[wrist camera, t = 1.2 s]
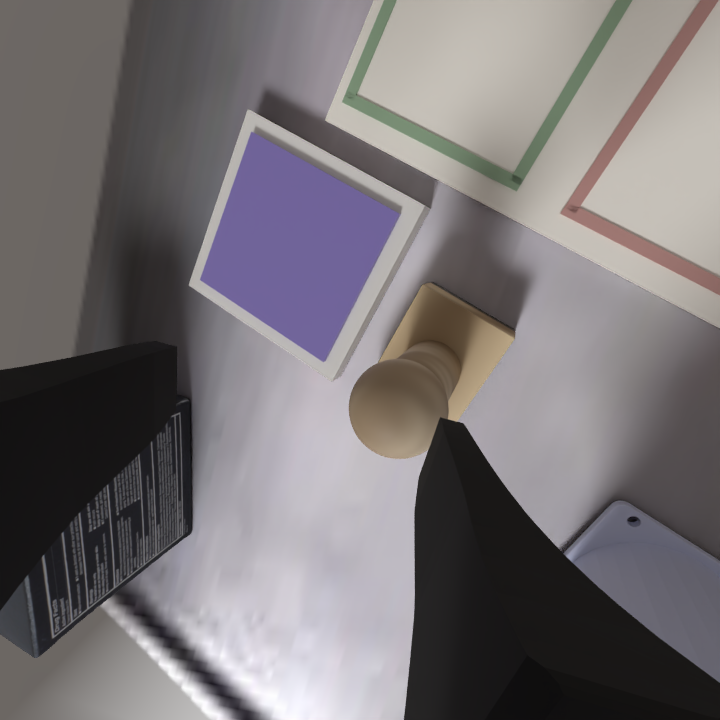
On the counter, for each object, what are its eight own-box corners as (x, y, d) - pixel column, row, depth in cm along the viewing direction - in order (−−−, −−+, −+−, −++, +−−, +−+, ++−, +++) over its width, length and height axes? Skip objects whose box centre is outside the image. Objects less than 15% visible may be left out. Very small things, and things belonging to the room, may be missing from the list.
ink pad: (430, 208, 19) (423, 204, 18) (340, 376, 23) (329, 383, 21) (262, 117, 21) (244, 106, 20) (203, 284, 25) (184, 285, 23)
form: (1116, 1, 12) (1136, -8, 11) (769, 355, 16) (775, 357, 16) (461, -206, 16) (460, -217, 15) (327, 122, 20) (324, 119, 20)
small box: (117, 376, 29) (-82, 432, 19) (193, 396, 27) (10, 469, 17) (125, 508, 32) (-46, 615, 22) (194, 535, 30) (38, 665, 20)
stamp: (515, 330, 19) (511, 384, 10) (446, 428, 21) (397, 541, 13) (433, 282, 20) (367, 296, 11) (375, 382, 22) (284, 457, 13)
